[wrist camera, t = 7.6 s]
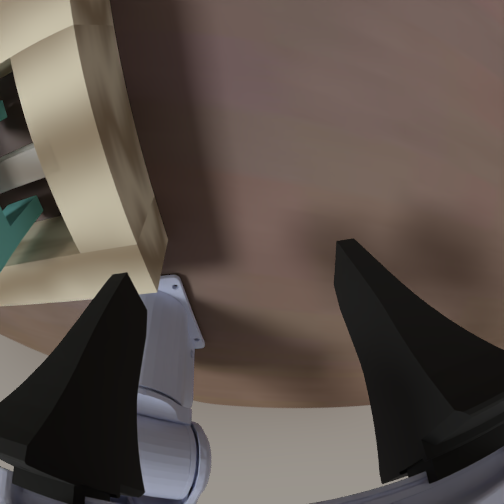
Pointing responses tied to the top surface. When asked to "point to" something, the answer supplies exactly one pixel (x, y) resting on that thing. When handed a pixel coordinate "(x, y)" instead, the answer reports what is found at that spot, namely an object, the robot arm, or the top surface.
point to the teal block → (15, 218)
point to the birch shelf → (76, 156)
